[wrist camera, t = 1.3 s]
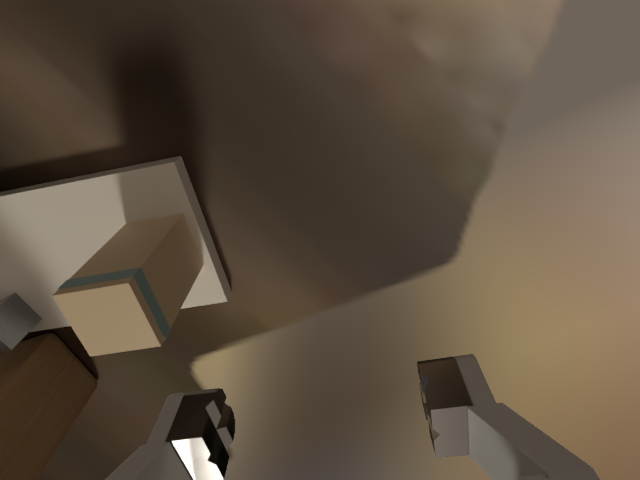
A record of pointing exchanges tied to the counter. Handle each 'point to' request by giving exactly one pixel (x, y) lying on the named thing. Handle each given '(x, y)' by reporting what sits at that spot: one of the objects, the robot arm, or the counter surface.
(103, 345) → the carton
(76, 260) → the white tray
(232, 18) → the counter surface
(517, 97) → the counter surface
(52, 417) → the wooden block
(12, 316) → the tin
